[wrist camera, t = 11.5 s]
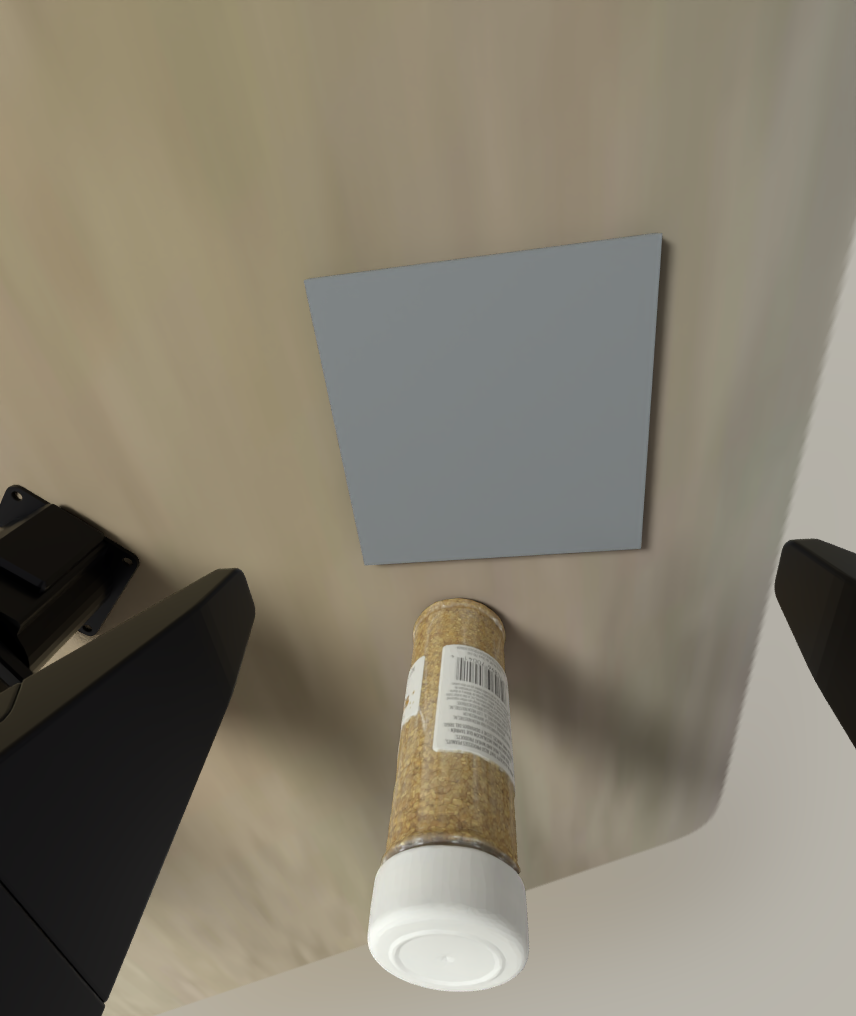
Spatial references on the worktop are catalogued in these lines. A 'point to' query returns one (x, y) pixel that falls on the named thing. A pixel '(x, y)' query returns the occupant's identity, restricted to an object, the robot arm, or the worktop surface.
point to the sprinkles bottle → (453, 814)
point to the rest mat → (494, 399)
